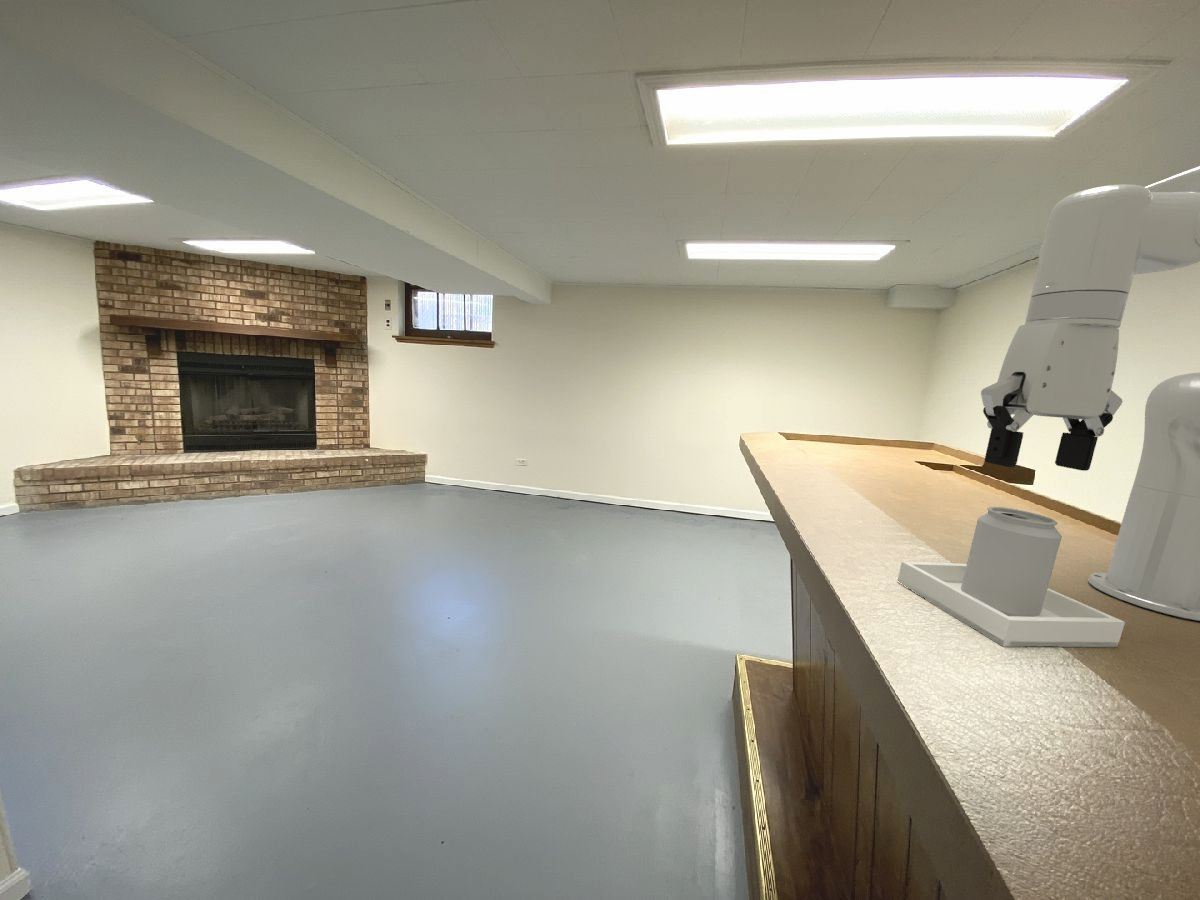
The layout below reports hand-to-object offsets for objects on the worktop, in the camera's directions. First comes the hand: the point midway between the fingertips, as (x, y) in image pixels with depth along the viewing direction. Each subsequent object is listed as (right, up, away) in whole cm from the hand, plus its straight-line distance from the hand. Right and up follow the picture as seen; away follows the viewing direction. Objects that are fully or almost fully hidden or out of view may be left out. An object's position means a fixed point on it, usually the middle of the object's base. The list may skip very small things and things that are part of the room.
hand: (1035, 466), depth 54 cm
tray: (-2, -18, +3) cm, 18 cm away
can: (-2, -18, +3) cm, 18 cm away
